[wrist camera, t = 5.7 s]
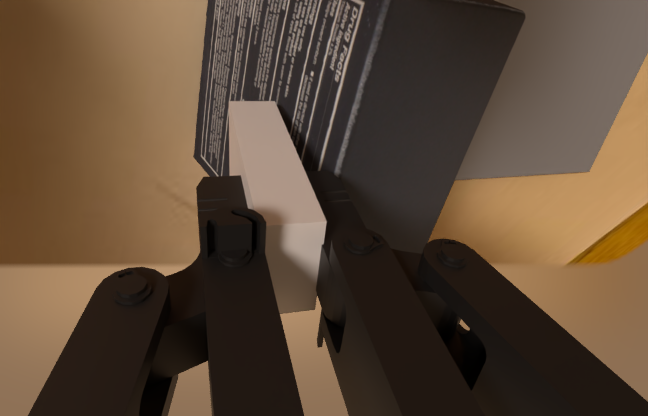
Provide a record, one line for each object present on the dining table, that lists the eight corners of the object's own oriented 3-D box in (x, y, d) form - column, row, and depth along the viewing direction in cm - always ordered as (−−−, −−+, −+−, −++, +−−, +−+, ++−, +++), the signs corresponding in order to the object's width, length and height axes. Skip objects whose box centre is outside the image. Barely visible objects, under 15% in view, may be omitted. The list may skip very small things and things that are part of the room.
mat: (331, 184, 28) (333, 188, 28) (373, -144, 19) (377, -144, 19) (585, 168, 34) (589, 171, 33) (713, -96, 24) (720, -96, 24)
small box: (301, 150, 27) (424, 270, 20) (189, 160, 23) (294, 310, 16) (349, -57, 21) (542, 14, 14) (211, -88, 17) (384, -13, 11)
